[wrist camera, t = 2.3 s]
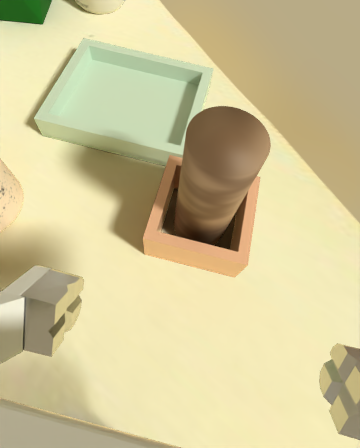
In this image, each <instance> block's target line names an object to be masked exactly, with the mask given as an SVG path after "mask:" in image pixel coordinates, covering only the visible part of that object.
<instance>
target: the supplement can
mask: <svg viewBox="0 0 360 448" xmlns="http://www.w3.org/2000/svg"><path fill="white" fill-rule="evenodd" d="M75 1H76V3H77V4H78V5H80V6H81V7H82V8H83V9H84V10H86V11H88V12H91V13H94V14H109V13H112V12H115V11H117V10H118V9H119V8H120V7H121V6H122V5H123V3H124V2H125V0H75Z"/></svg>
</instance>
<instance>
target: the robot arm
mask: <svg viewBox="0 0 360 448" xmlns="http://www.w3.org/2000/svg"><path fill="white" fill-rule="evenodd" d="M83 285H84V279H83V277H80V276H77V275H73V274H70V273H66V272H63V271H59V270H55V269H52V268H48V267H44V266H40V265H35V266H33V267H32V268H31V269H29V270H28V271H27V272H26V273H24V274H23V275H22V276H20V277H19V278H18V279H17V280H15V281H14V282H13V283H11V284H10V285H9V286H8V287H6V288H5V289H4V290H2V291H0V364H1V363H3V362H5V361H7V360H8V359H10V358H12V357H14V356H16V355H17V354H19V353H21V352H22V351H23V350H25V351H30V352H34V353H38V354H42V355H47V356H51V357H52V356H53V354H54V353H55V351H56V350H57V348H58V347H59V346H60V344H61V343H62V341H63V340H64V332H67V331H69V330H71V329H72V327H73V326H74V324H75V322H76V320H77V318H78V316H79V313H80V309H81V303H82V300H81V298H80V296H79V294H80V292H81V291H82V290H83ZM330 355H331V359H332V360H330V361H328V362H326V363H324V365H323V367H322V369H321V371H320V379H319V383H320V389H321V392H322V394H323V397H324V398H325V399H326V400H327V401H328V402H329V403H330V404H331V407H330V410H329V412H330V414H331V417H332V419H333V421H334V424H335V426H336V429H337V431H338V434H341V435H345V436H348V437H351V438H355V439H358V440H360V349H359V348H354V347H350V346H346V345H342V344H338V343H337V344H336V345H335V346H333V348H332V350H331V351H330ZM0 448H181V447H177V446H173V445H170V444H166V443H162V442H159V441H155V440H152V439H148V438H144V437H141V436H137V435H133V434H130V433H126V432H122V431H119V430H115V429H111V428H108V427H104V426H101V425H97V424H93V423H90V422H86V421H82V420H79V419H75V418H71V417H68V416H64V415H61V414H57V413H53V412H50V411H46V410H42V409H39V408H35V407H31V406H28V405H24V404H20V403H17V402H13V401H10V400H6V399H2V398H0Z"/></svg>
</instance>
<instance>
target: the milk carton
mask: <svg viewBox="0 0 360 448" xmlns="http://www.w3.org/2000/svg"><path fill="white" fill-rule="evenodd" d="M51 1H52V0H0V20H6V21H16V22H26V23H36V24H43V22H44V20H45V17H46V14H47V12H48V9H49V7H50V4H51Z"/></svg>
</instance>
